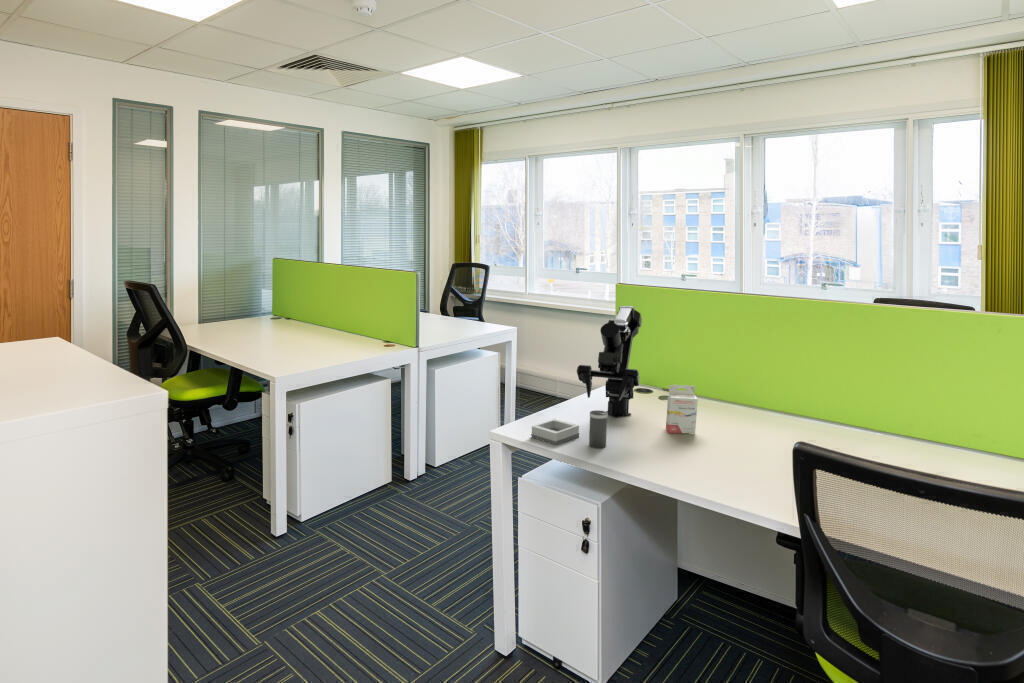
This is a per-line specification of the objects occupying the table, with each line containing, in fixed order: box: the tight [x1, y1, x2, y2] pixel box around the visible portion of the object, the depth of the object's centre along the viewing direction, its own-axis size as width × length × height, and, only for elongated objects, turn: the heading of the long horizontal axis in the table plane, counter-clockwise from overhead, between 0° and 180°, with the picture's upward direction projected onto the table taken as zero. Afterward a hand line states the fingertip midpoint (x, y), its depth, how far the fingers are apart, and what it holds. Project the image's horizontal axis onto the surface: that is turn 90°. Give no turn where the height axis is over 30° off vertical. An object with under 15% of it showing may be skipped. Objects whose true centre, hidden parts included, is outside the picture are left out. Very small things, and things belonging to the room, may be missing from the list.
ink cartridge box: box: [665, 384, 699, 435], centre depth 194 cm, size 9×5×15 cm, turn 84°
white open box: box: [530, 418, 580, 446], centre depth 189 cm, size 11×10×4 cm
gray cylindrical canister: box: [588, 409, 609, 449], centre depth 181 cm, size 5×5×10 cm
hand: (603, 398), depth 185 cm, fingers open, 9 cm apart
